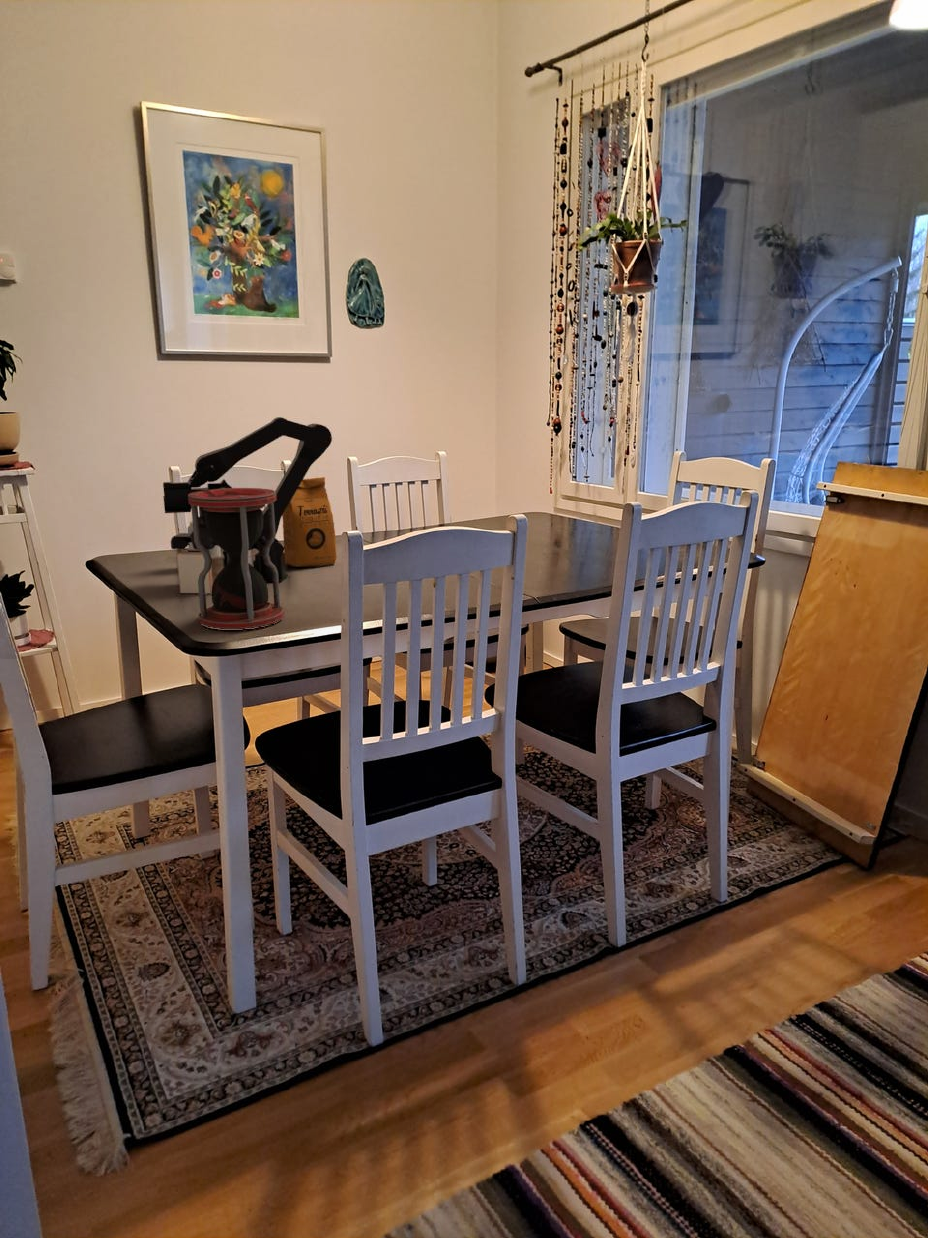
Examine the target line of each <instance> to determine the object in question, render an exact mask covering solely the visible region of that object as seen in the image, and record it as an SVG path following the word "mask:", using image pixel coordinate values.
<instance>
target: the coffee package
mask: <svg viewBox="0 0 928 1238" xmlns="http://www.w3.org/2000/svg"><path fill="white" fill-rule="evenodd" d="M325 485H326V477H325V476H324V477H323V476H321V477H314V478H303V480H302V482H301V484H300V485H299V487H298V489H297V490H296V492H295V494H294V496H293V497H292V499H291V501H290V503H289V504H288V506H287V508H286V510H285V511H284V513H283V515H282V516H281V519H282V530H283V531H282V532H283V547H284V551H283V552H285V565H290V566H291V567H295V568H296V567H297V568H308V567H310V566H311V567H323V566H328V565H332V564H333V566H334V565H335V564H336V560H337V545H336V543H337V541H336V537H337V536H336V530H335V523H334V516H333V512H332V508H331V503H330V500H329V496H328V492H327V489H326V486H325ZM311 567H310V568H311Z"/></svg>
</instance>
